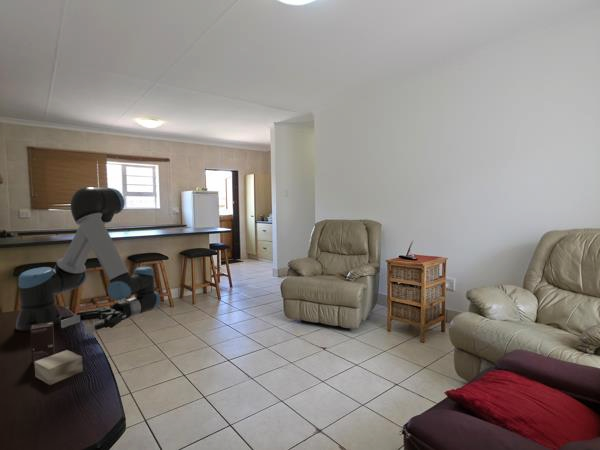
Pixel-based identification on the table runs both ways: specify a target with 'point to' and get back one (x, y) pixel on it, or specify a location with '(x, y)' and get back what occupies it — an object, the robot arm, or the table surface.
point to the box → (42, 341)
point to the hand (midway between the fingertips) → (72, 327)
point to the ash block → (58, 367)
